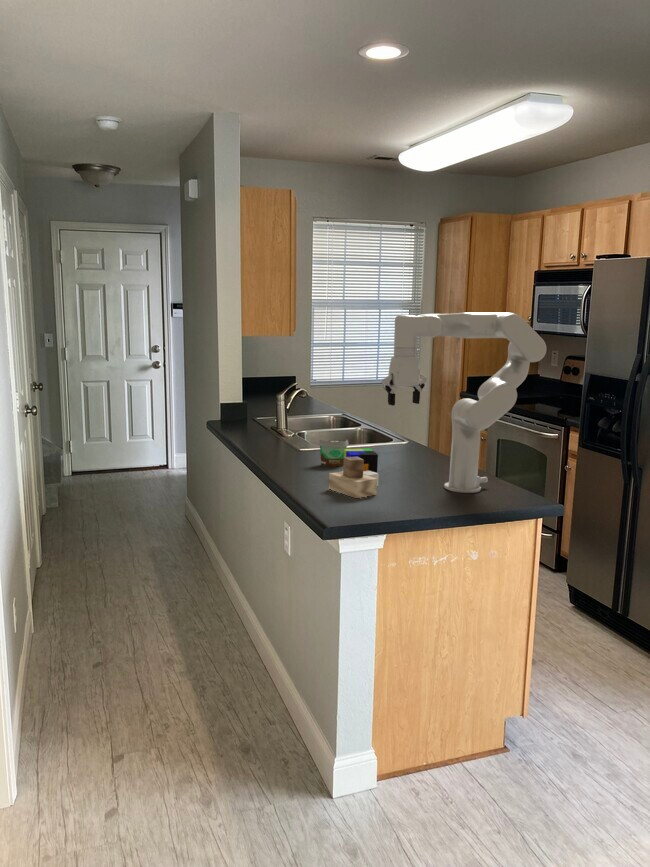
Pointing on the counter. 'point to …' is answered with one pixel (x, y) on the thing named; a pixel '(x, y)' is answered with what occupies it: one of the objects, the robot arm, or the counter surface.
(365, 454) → the puzzle toy
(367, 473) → the offwhite cube
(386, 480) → the counter surface
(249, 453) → the counter surface
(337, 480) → the maple block
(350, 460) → the walnut block
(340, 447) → the food container
